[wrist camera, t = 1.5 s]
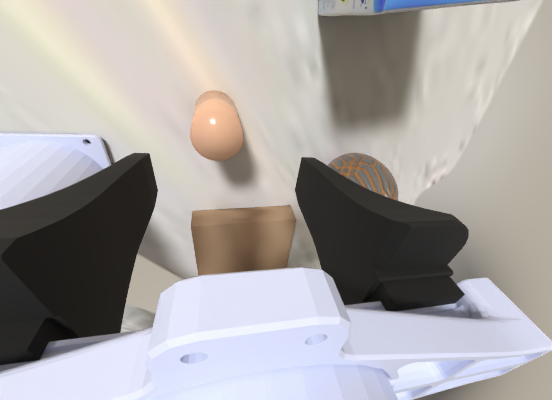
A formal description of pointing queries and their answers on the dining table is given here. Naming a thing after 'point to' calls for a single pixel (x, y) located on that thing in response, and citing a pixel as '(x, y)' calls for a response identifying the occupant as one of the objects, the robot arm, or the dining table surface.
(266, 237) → the brown wooden box
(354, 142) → the dining table surface
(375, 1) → the medicine box
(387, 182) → the vase
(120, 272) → the robot arm
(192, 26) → the dining table surface
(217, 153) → the peach rounded cylinder
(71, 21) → the dining table surface
